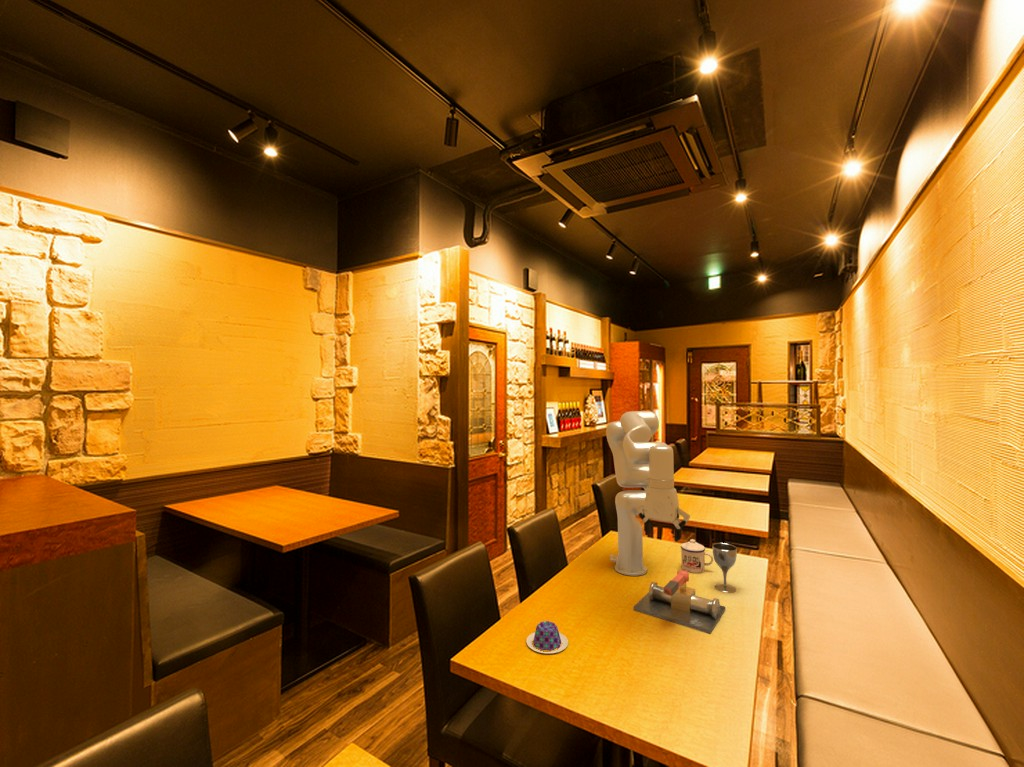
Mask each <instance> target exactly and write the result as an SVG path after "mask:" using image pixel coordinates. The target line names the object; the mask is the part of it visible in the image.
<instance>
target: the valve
mask: <svg viewBox="0 0 1024 767" xmlns="http://www.w3.org/2000/svg"><path fill="white" fill-rule="evenodd" d="M664 587H665V586H662V585H661V586H659V585H658V583H657V582H655V581H651V583H650V585H649V589H648V592H647V593H646V594H645V595H644V596H643V597H642V598H641V599H640V600H639V601H637V603H635V604H634V606H633V607H632V608H633V611H635V612H639V613H642V614H646V615H649V616H652V617H655V618H659V619H661V620H665V621H668V622H671V623H675V624H677V625H680V626H684V627H688V628H690V629H694V630H696V631H700V632H703V633H706V634H712V632H713V630H714V629H715V627H716V626H717V624H718V622H719V621H720V619H721V618H722V617H723V615H724V613H725V612H726V606H724V605H721V604H720V599H719V598H716V597H714V598H712V599H709V598H706V597H702V596H698V595H696V588H694V587H693V588H692V587H689V586H687V582H684V583H683V584H682V585H681V586H680V587H679V589H678V590H677V591H676V592H675V593H674V594H673V596H671V595H667V594H664Z"/></svg>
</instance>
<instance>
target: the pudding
mask: <svg viewBox="0 0 1024 767" xmlns="http://www.w3.org/2000/svg"><path fill="white" fill-rule="evenodd" d="M532 641H533V642H532ZM532 643H533V645H534V647H535V648H534V647H533V645H532ZM562 643H563V644H562ZM526 645H527V647H528V648H530V649H531V650H532V651H535V652H537V653H541V654H557V653H560V652H562V651H563V650H565V649H566V648H567V647H568V645H569V640H568V638H567V637H566V635H564V634H563V633H561V632H559V627H558V626H557V625H556V624H555V623H554V622H553V621H549V620H546V621H540V622H539V623H538V624H537V625H536V627H535V632H532V633H530V634H529V635H528V636H527V638H526ZM537 647H538V648H537ZM559 647H560V648H559ZM536 648H537V649H536ZM556 648H557V649H558V650H557V649H556ZM538 649H539V650H538ZM540 649H541V650H542V651H540ZM543 650H545V651H548V650H549V651H551V652H543ZM552 650H553V651H552ZM554 650H555V651H554Z"/></svg>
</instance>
